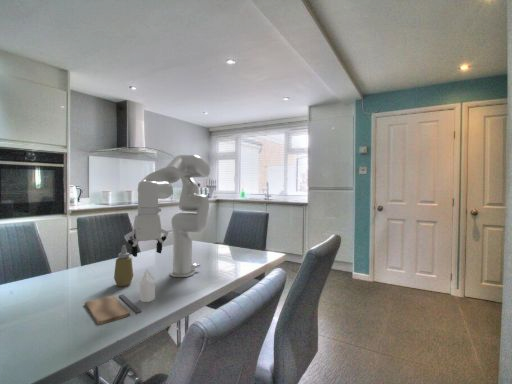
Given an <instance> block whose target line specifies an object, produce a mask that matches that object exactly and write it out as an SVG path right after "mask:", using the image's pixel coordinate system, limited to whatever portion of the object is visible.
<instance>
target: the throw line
mask: <svg viewBox="0 0 512 384" xmlns="http://www.w3.org/2000/svg"><path fill="white" fill-rule="evenodd" d="M118 296H119V298H120V299H121V300H122V301H123V302H124V303H125V304H126V305H127V306H128V307H129V308H130V309H131V310H132V311H133V312H134V313H135V314H140V313H142V311H141V309H140V308H139V307H138V306H136V305H135V304H134V303H133V302H132V301H131V300H130V299H129V298H128V297H127V296H126V295H125V294H119V295H118Z"/></svg>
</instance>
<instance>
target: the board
mask: <svg viewBox="0 0 512 384" xmlns="http://www.w3.org/2000/svg"><path fill="white" fill-rule="evenodd" d="M84 305H85V307H86V308H87V310H88V311H89V313H90V314H91V315H92V317H93V318H94V320H95V323H97V324H98V325H102V324H106V323H109V322H114V321H116V320H120V319H124V318H126V317H130V316H131V312H130V311H129V310H128V309H127V307H125V306H124V305H123V304H122V302H120V300H118V298H117V297H116V296H115V295H109V296H105V297H99V298H97V299H93V300H89V301H88V300H87V301H84Z"/></svg>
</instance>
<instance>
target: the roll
mask: <svg viewBox="0 0 512 384" xmlns="http://www.w3.org/2000/svg"><path fill="white" fill-rule="evenodd" d="M139 294H140V301H141V302H142V303H149V302H152V301H154V300H155V298H156V280H155V278H154V276H153V275H152V273H151V271H150V270H149V269H145V271H144V274H143V276H142V278H141V280H140V282H139Z"/></svg>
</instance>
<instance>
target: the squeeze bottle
mask: <svg viewBox="0 0 512 384" xmlns="http://www.w3.org/2000/svg"><path fill="white" fill-rule="evenodd" d="M127 251H128V250H127V246H126V245H122V246H121V251H120V253H118V256H117V259H115V263H114V265H115V266H114V275H113V279H114V282H115V285H116V286H117V287H126V286H129V285H131V283H132V280H133V278H134V269H133V260H132V259H133V258H132V257H130V252H127Z"/></svg>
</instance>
